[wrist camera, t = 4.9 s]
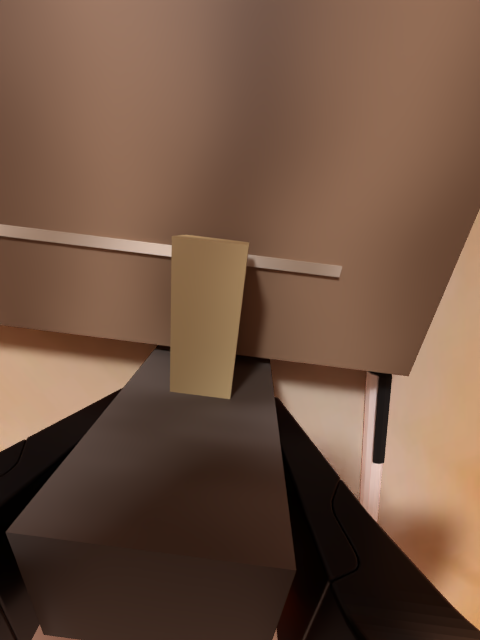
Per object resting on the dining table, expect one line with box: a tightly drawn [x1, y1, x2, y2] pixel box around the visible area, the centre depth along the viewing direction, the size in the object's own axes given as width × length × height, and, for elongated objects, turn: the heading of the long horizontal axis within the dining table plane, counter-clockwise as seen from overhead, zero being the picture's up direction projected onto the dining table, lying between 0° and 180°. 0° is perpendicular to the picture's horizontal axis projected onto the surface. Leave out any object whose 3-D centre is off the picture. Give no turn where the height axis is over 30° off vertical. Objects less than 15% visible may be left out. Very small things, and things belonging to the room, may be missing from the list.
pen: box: [360, 371, 392, 522], centre depth 13 cm, size 1×19×1 cm, turn 8°
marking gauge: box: [6, 235, 296, 640], centre depth 6 cm, size 4×7×7 cm, turn 173°
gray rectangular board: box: [0, 0, 480, 376], centre depth 7 cm, size 24×10×2 cm, turn 83°
